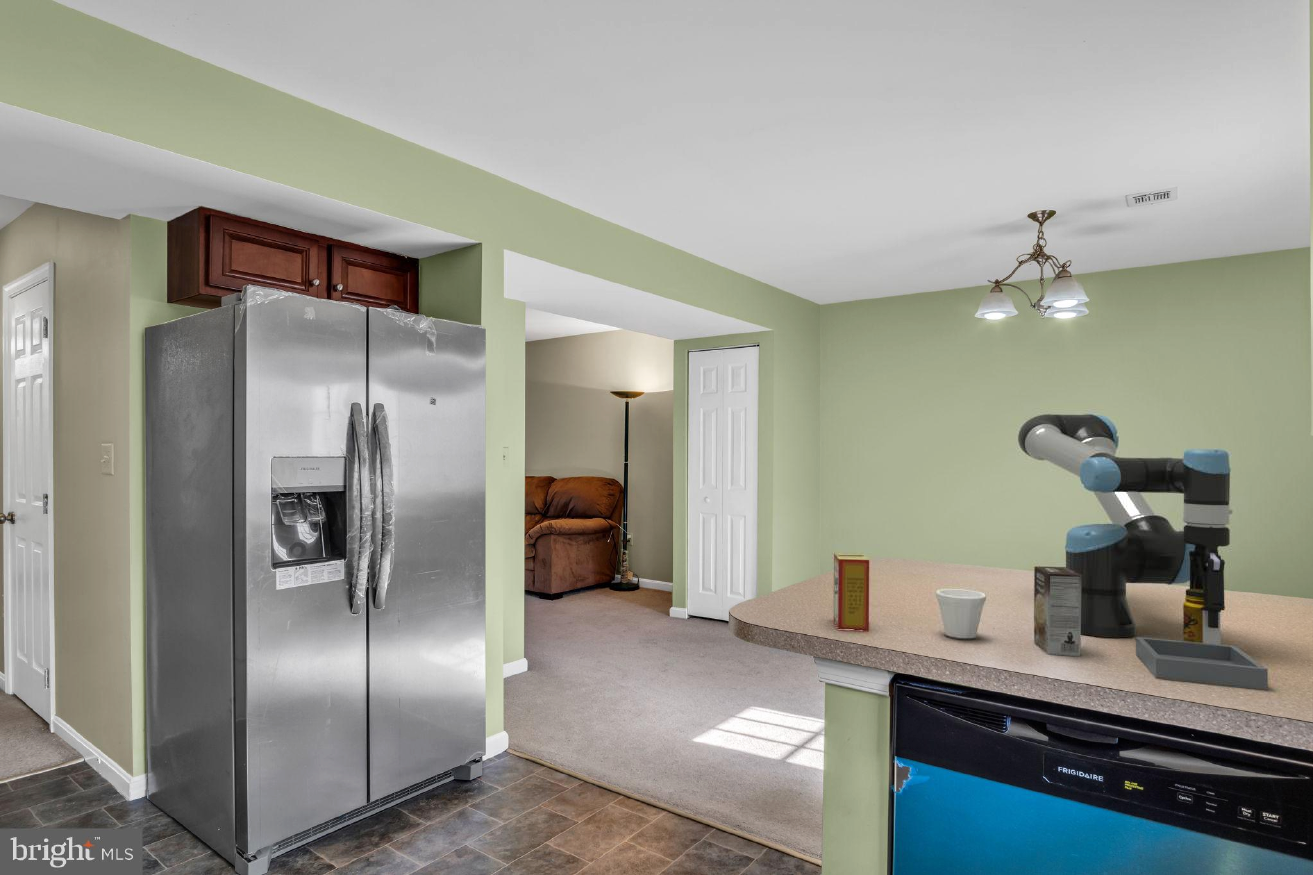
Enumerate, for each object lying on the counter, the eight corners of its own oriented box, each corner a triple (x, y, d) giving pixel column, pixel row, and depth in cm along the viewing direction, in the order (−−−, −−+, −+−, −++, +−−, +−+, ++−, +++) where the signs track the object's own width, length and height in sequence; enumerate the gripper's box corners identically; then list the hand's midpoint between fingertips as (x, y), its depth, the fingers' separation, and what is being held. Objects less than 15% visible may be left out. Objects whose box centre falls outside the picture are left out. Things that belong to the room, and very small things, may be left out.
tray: (1155, 678, 131) (1155, 658, 131) (1135, 654, 146) (1135, 636, 146) (1267, 690, 125) (1267, 669, 125) (1234, 664, 140) (1235, 645, 140)
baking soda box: (868, 631, 163) (869, 558, 163) (838, 630, 163) (838, 557, 164) (862, 621, 172) (862, 552, 172) (833, 620, 173) (834, 551, 173)
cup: (975, 645, 152) (976, 599, 152) (927, 636, 159) (928, 593, 159) (992, 636, 159) (992, 593, 159) (946, 628, 166) (946, 586, 166)
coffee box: (1032, 642, 155) (1032, 565, 155) (1065, 644, 153) (1065, 566, 154) (1047, 654, 145) (1047, 572, 146) (1082, 656, 144) (1083, 574, 145)
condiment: (1172, 645, 153) (1172, 587, 153) (1208, 644, 154) (1208, 586, 154) (1203, 655, 146) (1203, 594, 146) (1240, 654, 147) (1240, 593, 147)
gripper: (1245, 530, 140) (1245, 653, 140) (1213, 521, 158) (1213, 630, 157) (1198, 528, 143) (1198, 649, 142) (1171, 520, 160) (1171, 627, 160)
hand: (1206, 639), depth 150 cm, fingers closed on condiment, 6 cm apart
